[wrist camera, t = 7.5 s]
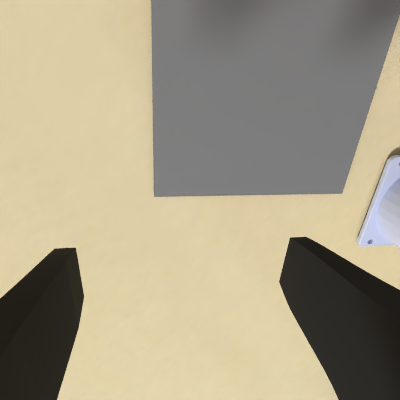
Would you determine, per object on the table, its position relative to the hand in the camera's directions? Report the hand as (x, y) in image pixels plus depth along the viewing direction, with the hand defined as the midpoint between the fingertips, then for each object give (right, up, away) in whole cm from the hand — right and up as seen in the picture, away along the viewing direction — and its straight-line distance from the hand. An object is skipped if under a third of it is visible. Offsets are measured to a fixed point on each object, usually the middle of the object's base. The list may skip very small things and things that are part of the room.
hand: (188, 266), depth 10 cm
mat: (+5, +8, +8) cm, 12 cm away
